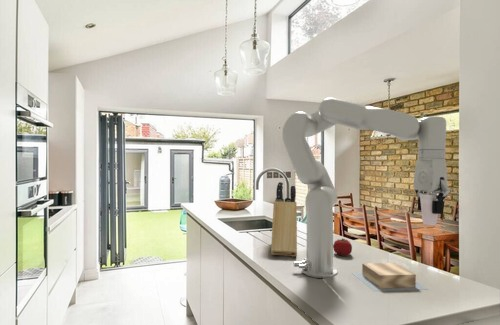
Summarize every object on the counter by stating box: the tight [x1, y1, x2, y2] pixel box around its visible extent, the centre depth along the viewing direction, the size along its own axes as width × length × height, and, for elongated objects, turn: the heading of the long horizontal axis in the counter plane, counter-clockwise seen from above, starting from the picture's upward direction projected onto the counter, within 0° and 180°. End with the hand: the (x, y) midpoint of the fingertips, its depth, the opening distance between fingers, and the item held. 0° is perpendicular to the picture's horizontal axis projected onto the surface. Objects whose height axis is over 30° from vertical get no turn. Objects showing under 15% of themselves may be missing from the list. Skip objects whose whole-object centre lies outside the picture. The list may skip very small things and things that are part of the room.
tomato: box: [333, 238, 353, 257], centre depth 137 cm, size 8×8×7 cm
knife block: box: [270, 181, 298, 257], centre depth 147 cm, size 11×35×31 cm, turn 173°
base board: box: [351, 272, 428, 292], centre depth 104 cm, size 18×16×1 cm
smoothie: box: [419, 191, 439, 227], centre depth 98 cm, size 6×6×14 cm
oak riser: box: [361, 262, 417, 288], centre depth 104 cm, size 12×12×4 cm
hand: (429, 211), depth 98 cm, fingers closed on smoothie, 6 cm apart
